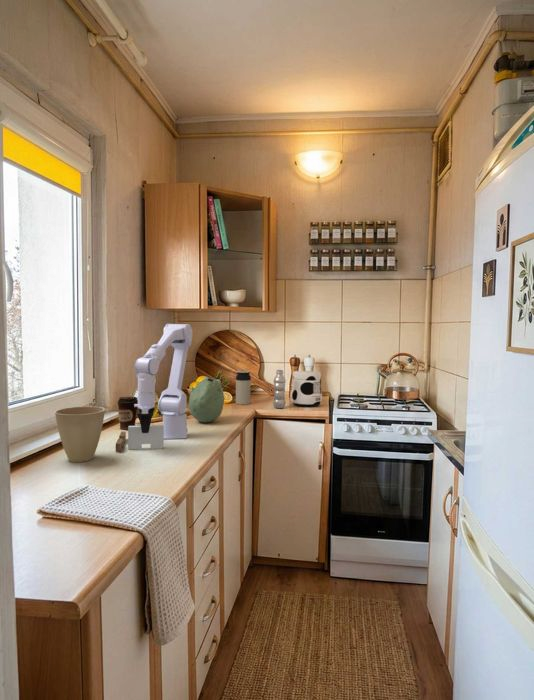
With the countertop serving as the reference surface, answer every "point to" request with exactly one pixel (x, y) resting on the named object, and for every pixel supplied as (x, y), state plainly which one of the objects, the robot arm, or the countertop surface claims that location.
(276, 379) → the plastic bottle
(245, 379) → the travel mug
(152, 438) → the grey arch block
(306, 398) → the milk container
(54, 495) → the countertop surface
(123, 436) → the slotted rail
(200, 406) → the green faceted ovoid
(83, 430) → the plant pot
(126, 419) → the coffee cup
